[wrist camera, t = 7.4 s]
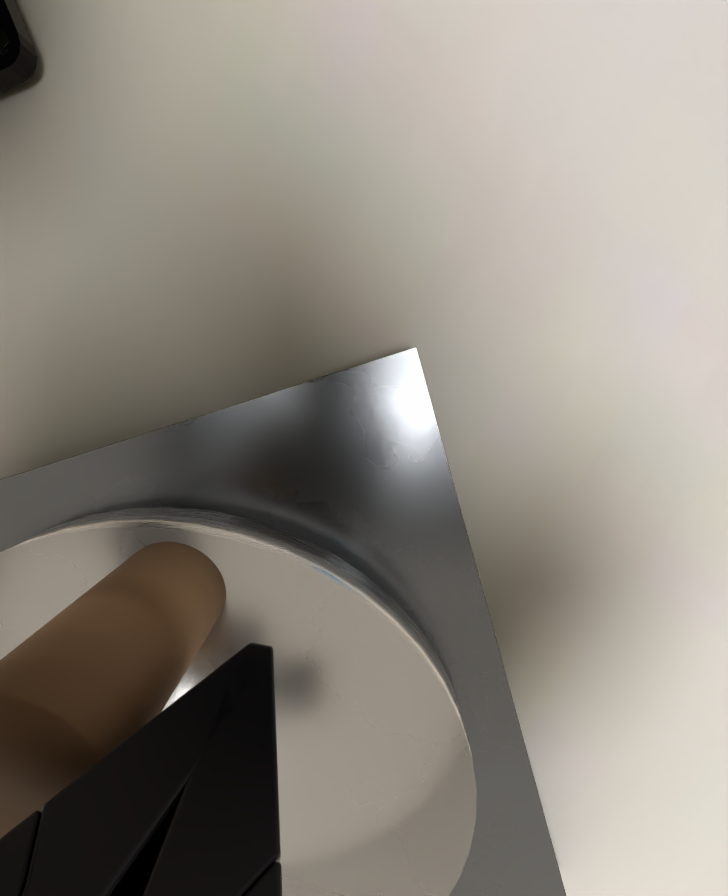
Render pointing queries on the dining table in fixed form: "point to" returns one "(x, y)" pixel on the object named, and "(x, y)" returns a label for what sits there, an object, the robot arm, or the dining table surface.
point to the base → (342, 550)
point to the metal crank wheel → (206, 648)
